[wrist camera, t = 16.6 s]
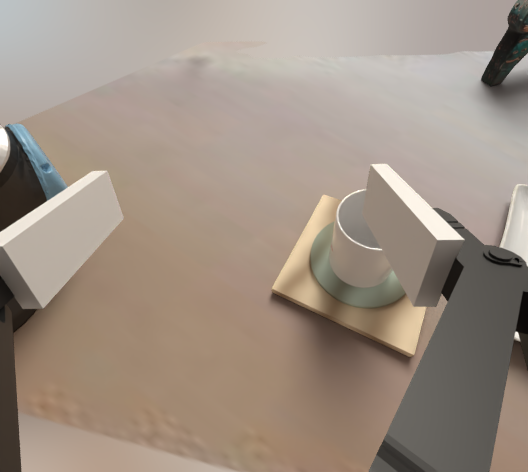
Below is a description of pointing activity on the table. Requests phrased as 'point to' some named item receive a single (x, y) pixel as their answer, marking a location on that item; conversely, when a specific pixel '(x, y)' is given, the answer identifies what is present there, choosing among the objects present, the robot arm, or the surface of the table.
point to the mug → (356, 246)
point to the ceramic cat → (509, 45)
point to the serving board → (347, 289)
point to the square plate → (517, 227)
